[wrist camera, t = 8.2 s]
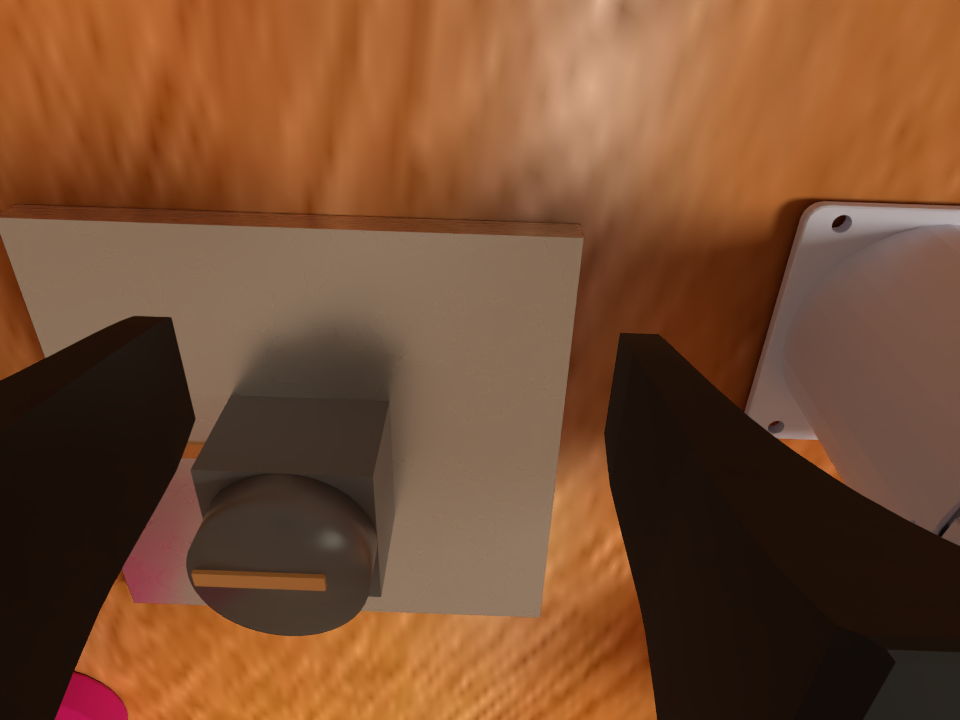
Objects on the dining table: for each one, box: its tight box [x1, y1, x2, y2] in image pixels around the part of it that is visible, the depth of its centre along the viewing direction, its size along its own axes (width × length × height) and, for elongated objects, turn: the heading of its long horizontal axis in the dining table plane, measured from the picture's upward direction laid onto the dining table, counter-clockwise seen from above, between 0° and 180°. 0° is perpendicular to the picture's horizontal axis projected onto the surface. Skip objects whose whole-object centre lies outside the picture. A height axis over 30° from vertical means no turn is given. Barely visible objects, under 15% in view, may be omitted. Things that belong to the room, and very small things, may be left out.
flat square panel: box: [0, 204, 584, 617], centre depth 23 cm, size 16×16×4 cm
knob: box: [186, 395, 395, 636], centre depth 21 cm, size 5×5×5 cm
